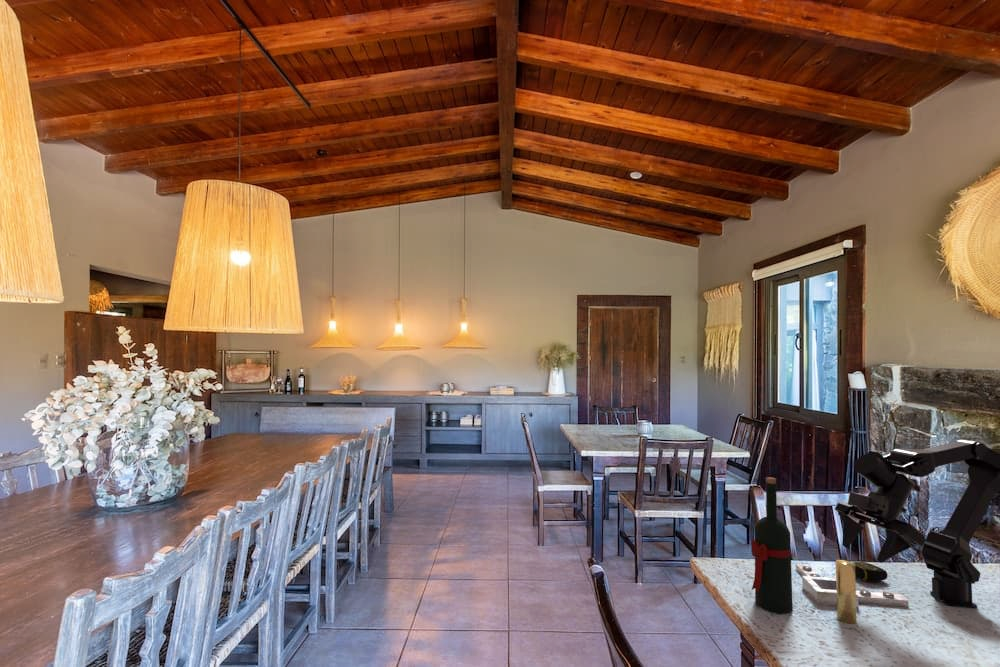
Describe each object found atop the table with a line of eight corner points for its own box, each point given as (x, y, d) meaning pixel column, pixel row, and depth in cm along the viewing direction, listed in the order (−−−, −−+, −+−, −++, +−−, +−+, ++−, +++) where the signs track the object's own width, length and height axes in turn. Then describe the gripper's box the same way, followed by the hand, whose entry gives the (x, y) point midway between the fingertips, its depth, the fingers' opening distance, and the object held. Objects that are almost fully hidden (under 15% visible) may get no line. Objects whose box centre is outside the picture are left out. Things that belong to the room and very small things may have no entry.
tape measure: (889, 583, 131) (889, 568, 132) (870, 586, 129) (870, 572, 130) (863, 572, 138) (863, 559, 138) (845, 575, 136) (844, 561, 136)
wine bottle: (740, 603, 120) (738, 476, 121) (770, 595, 124) (767, 473, 125) (769, 618, 113) (767, 484, 114) (800, 610, 117) (797, 480, 118)
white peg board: (867, 574, 136) (867, 563, 136) (916, 612, 116) (915, 599, 116) (785, 568, 140) (784, 557, 140) (817, 604, 120) (817, 591, 120)
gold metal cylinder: (851, 616, 114) (850, 560, 115) (859, 624, 110) (858, 567, 111) (834, 614, 115) (832, 559, 115) (841, 623, 111) (840, 565, 112)
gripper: (833, 470, 128) (805, 523, 126) (904, 488, 110) (872, 550, 108) (864, 493, 130) (837, 546, 127) (940, 515, 111) (909, 577, 109)
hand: (861, 553), depth 118 cm, fingers open, 9 cm apart
